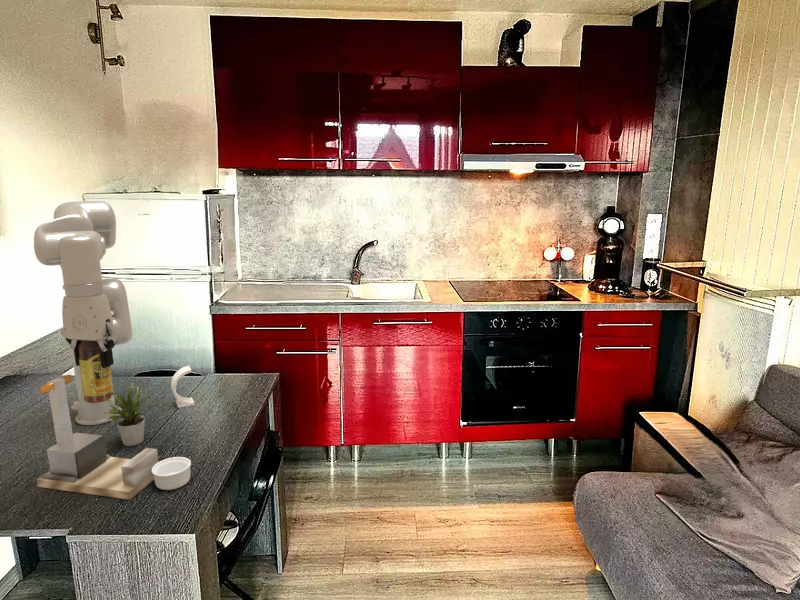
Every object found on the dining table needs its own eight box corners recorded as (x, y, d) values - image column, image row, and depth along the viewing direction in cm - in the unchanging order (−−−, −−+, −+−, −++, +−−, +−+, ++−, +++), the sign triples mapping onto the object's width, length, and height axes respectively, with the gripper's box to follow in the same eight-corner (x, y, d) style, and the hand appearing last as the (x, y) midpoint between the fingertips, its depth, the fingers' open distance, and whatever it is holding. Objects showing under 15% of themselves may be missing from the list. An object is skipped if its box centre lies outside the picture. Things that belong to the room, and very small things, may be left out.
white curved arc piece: (194, 404, 178) (191, 369, 175) (174, 408, 175) (171, 373, 173) (192, 399, 182) (188, 365, 179) (172, 403, 179) (169, 368, 176)
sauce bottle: (101, 405, 126) (89, 322, 122) (77, 403, 128) (65, 321, 123) (120, 394, 133) (110, 315, 128) (98, 392, 134) (87, 313, 129)
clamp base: (37, 486, 132) (33, 460, 130) (79, 459, 144) (75, 435, 143) (130, 499, 127) (126, 472, 125) (165, 470, 139) (162, 445, 137)
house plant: (106, 433, 159) (99, 380, 155) (158, 425, 164) (152, 373, 160) (100, 456, 146) (92, 399, 142) (157, 446, 151) (150, 391, 147)
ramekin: (153, 495, 128) (151, 478, 127) (153, 476, 136) (151, 460, 135) (193, 486, 132) (191, 470, 131) (191, 468, 140) (189, 453, 139)
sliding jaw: (50, 474, 133) (36, 387, 128) (79, 456, 141) (66, 373, 136) (79, 478, 131) (66, 389, 126) (107, 459, 140) (95, 376, 134)
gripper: (38, 291, 122) (50, 367, 126) (105, 295, 119) (115, 373, 123) (65, 285, 129) (76, 357, 134) (129, 288, 126) (138, 362, 130)
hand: (94, 364), depth 128 cm, fingers closed on sauce bottle, 6 cm apart
